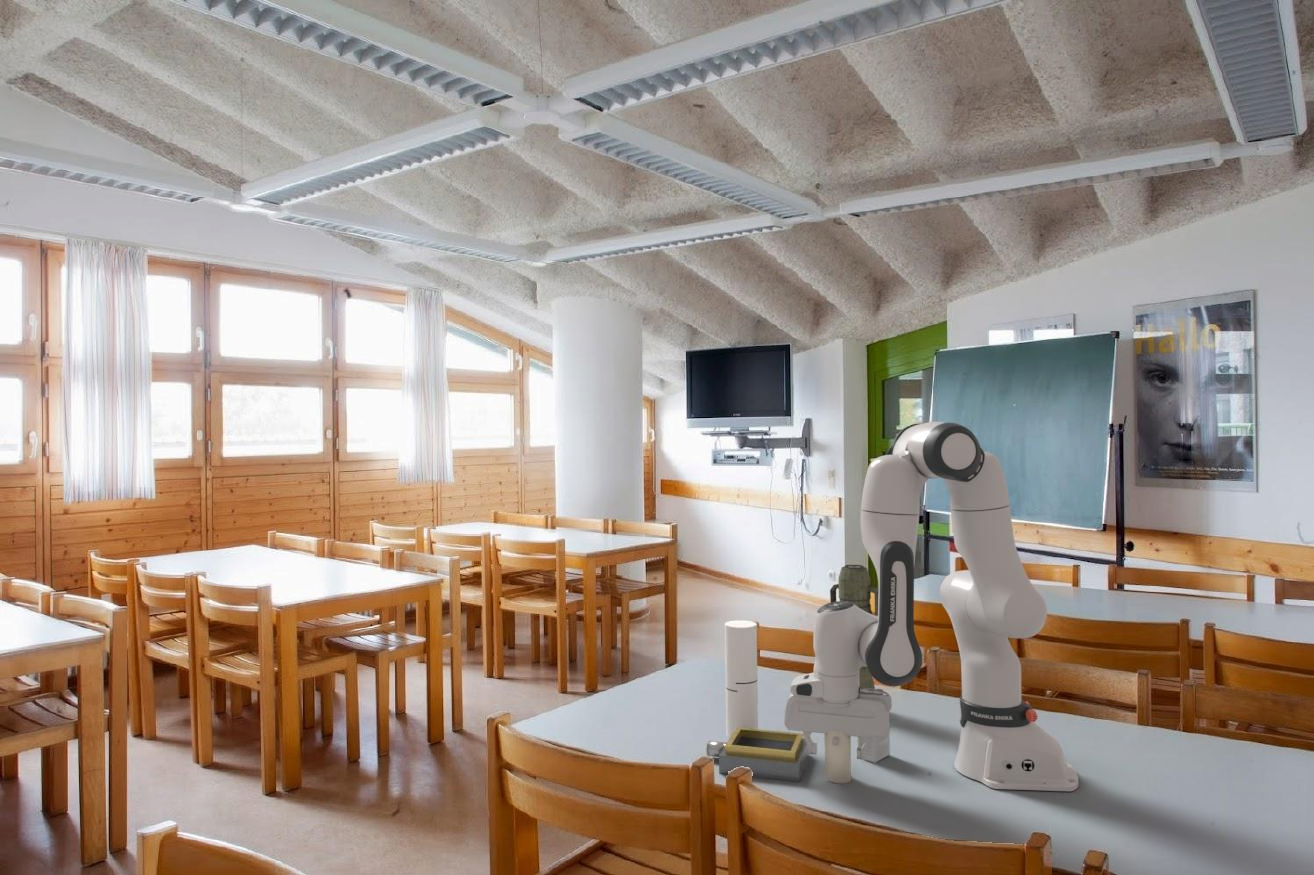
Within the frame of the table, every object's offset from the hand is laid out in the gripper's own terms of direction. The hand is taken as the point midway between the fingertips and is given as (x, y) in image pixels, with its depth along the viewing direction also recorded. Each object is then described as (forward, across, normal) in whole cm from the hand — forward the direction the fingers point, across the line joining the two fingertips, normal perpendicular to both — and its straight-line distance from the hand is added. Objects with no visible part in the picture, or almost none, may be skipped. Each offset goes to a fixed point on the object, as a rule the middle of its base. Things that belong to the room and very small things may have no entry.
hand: (836, 755), depth 166 cm
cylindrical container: (+5, +23, -18) cm, 30 cm away
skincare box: (+5, -6, -13) cm, 15 cm away
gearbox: (+5, +17, -3) cm, 18 cm away
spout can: (+4, 0, 0) cm, 5 cm away
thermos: (+4, 0, -42) cm, 43 cm away
